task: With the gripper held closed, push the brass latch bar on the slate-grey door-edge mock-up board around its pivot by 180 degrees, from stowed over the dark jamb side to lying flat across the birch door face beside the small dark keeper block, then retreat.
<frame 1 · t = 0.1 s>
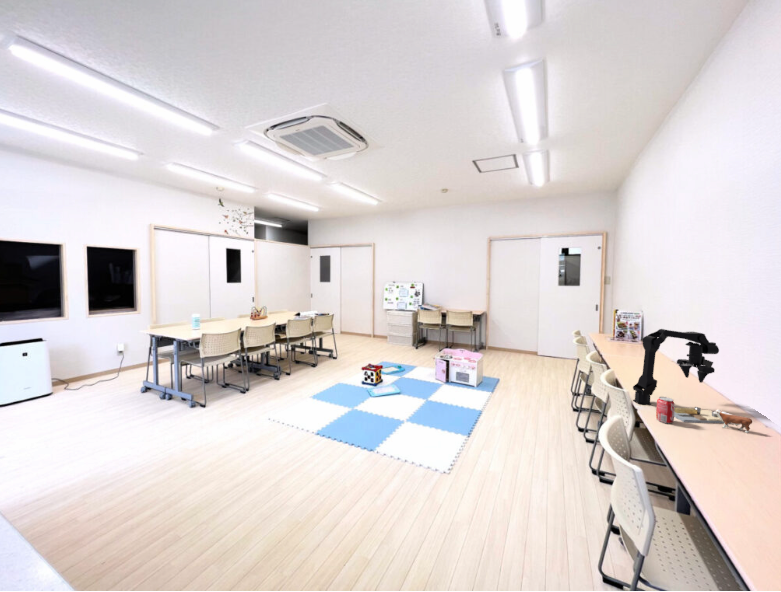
hand: (693, 380, 189), 15 cm above the table, fingers open, 9 cm apart
door mockup: (696, 417, 172), on the table
latch bar: (687, 410, 172), point 4 cm above the table, hinge at 180.0°
bull figurine: (731, 429, 160), on the table
soda can: (664, 421, 167), on the table
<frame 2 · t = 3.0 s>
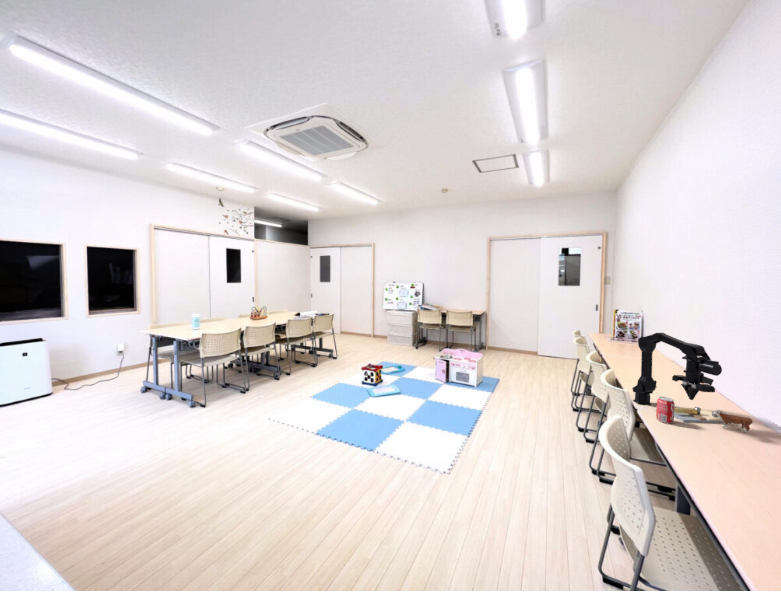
hand: (691, 399, 165), 12 cm above the table, fingers closed
nothing on the table moved.
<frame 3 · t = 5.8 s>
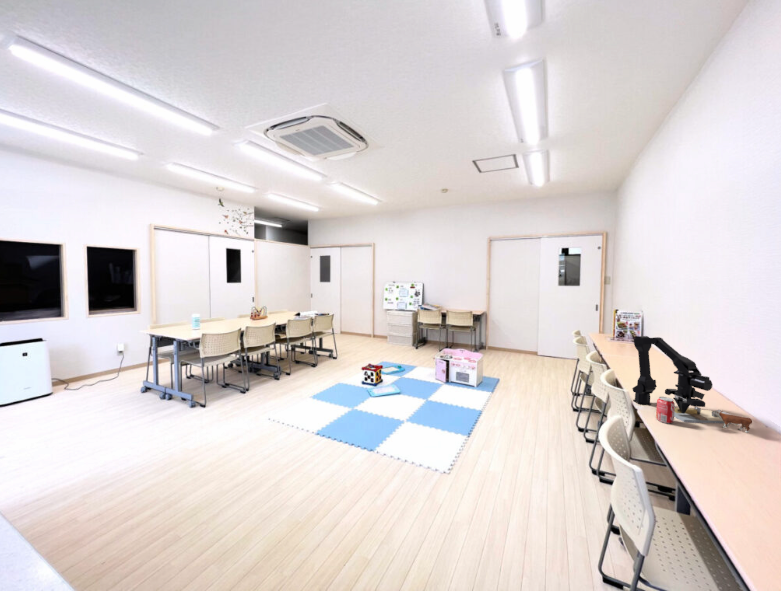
hand: (682, 413, 170), 3 cm above the table, fingers closed
latch bar: (687, 410, 172), point 4 cm above the table, hinge at 179.9°, touching gripper
everything else where it was.
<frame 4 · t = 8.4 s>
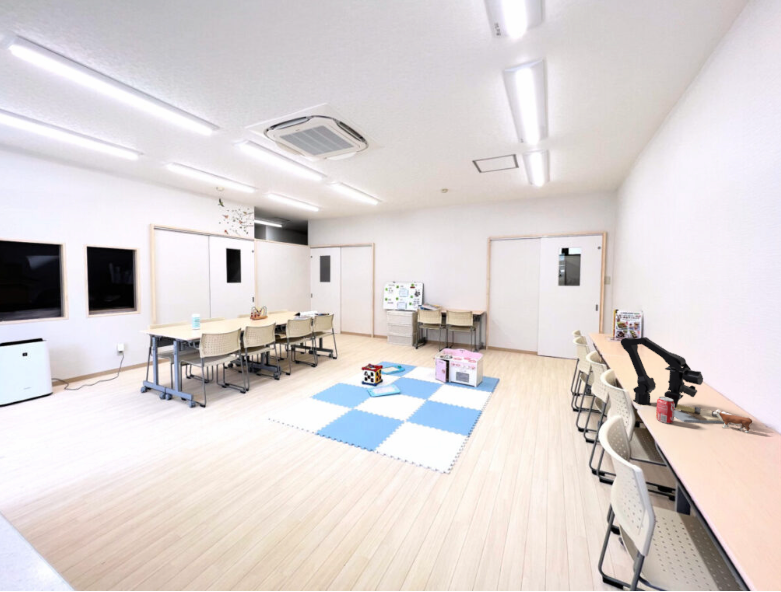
hand: (674, 407, 177), 3 cm above the table, fingers closed
latch bar: (685, 407, 176), point 4 cm above the table, hinge at 133.7°, touching gripper
everything else where it was.
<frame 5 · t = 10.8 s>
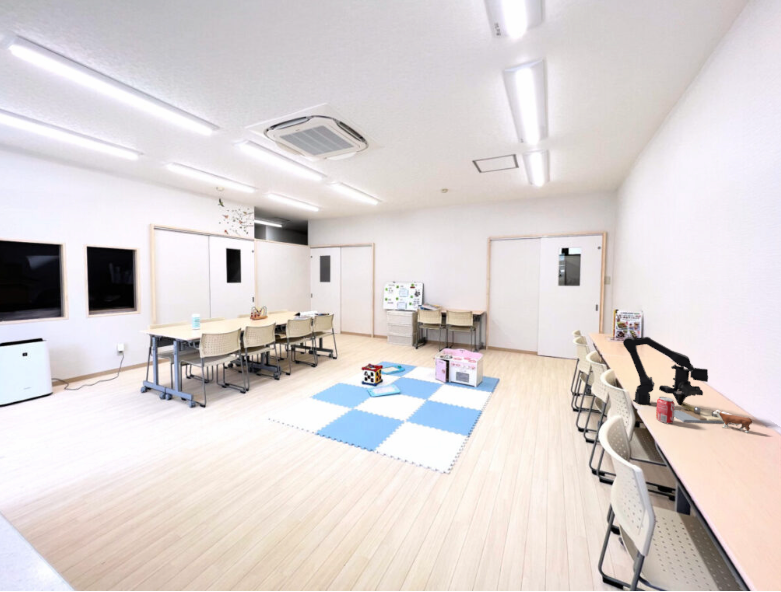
hand: (679, 405, 181), 3 cm above the table, fingers closed
latch bar: (689, 406, 177), point 4 cm above the table, hinge at 88.7°, touching gripper
everything else where it was.
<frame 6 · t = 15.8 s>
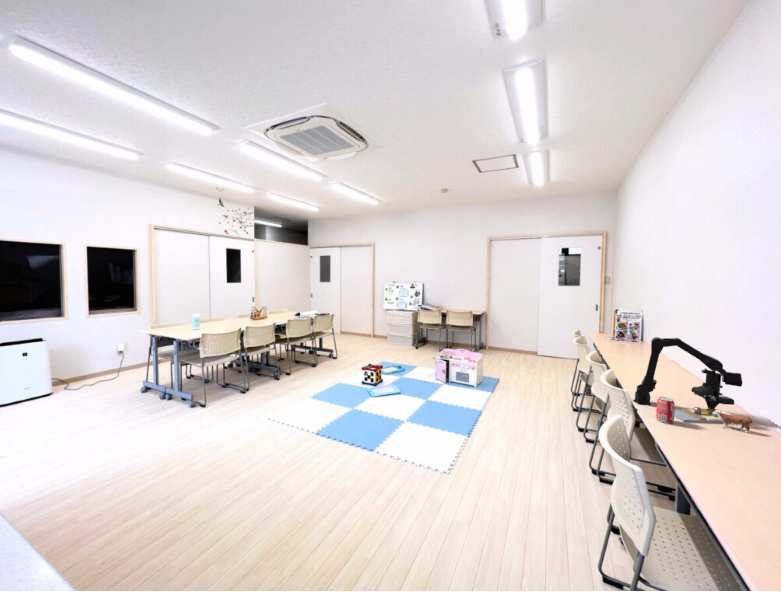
hand: (710, 410, 174), 3 cm above the table, fingers closed
latch bar: (707, 410, 172), point 4 cm above the table, hinge at -0.6°
everything else where it was.
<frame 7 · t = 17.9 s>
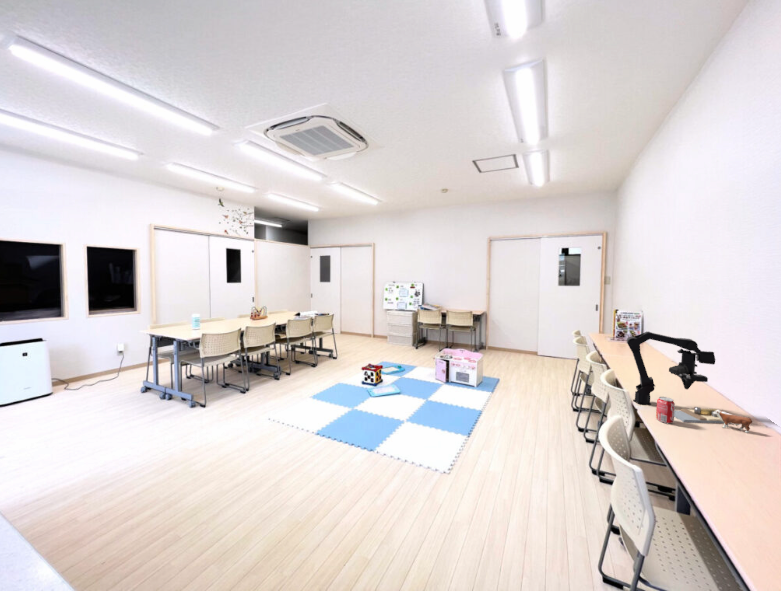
hand: (686, 389, 181), 12 cm above the table, fingers closed
nothing on the table moved.
at the end: latch bar at -1° (first picture: +180°) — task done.
